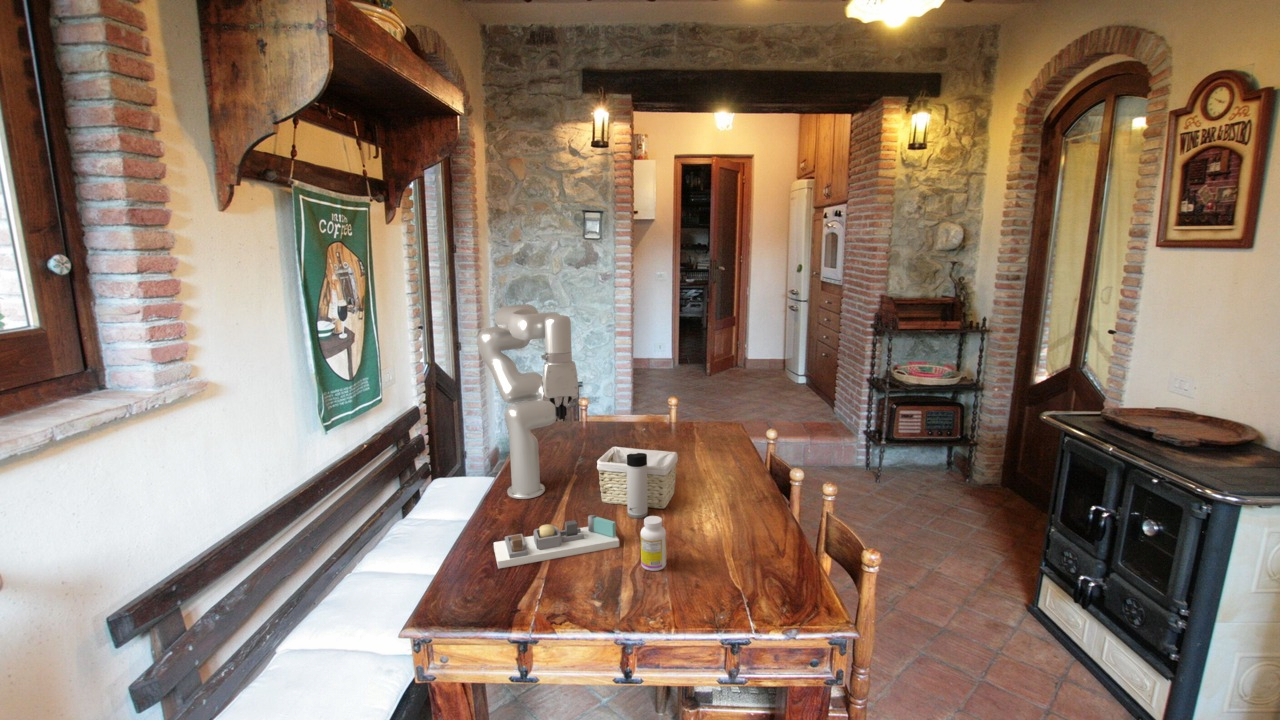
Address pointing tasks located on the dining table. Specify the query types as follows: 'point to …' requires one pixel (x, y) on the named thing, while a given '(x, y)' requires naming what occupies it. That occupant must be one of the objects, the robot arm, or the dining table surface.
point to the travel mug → (637, 485)
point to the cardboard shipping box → (517, 543)
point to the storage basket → (657, 476)
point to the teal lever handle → (601, 526)
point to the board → (551, 545)
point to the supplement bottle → (653, 544)
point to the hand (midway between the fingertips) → (561, 418)
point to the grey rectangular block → (571, 528)
